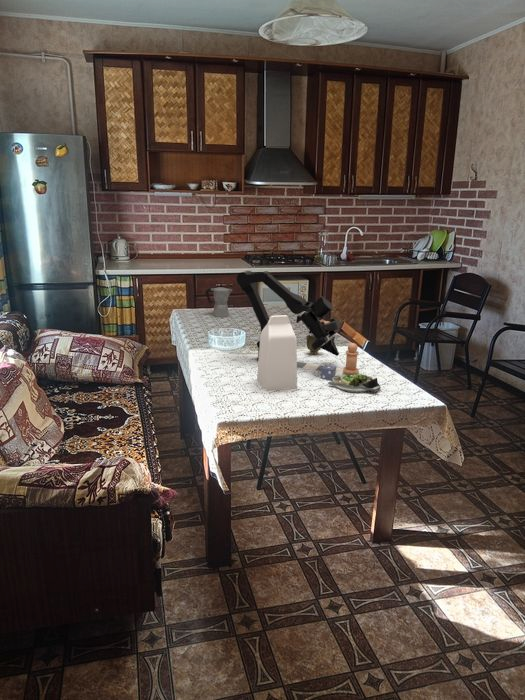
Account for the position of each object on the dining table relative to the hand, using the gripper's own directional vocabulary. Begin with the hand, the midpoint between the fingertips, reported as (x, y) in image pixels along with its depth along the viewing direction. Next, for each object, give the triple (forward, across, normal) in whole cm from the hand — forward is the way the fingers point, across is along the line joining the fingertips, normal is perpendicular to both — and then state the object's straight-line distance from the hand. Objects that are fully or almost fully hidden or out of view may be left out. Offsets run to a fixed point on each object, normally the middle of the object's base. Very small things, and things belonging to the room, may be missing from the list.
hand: (338, 355), depth 215 cm
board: (+1, 0, +9) cm, 9 cm away
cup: (-6, +18, +16) cm, 25 cm away
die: (+4, -10, +6) cm, 12 cm away
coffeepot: (-54, +64, +66) cm, 107 cm away
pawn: (+9, 0, +1) cm, 9 cm away
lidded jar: (-9, +46, +19) cm, 50 cm away
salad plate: (+13, -13, -3) cm, 18 cm away
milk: (-6, -25, +17) cm, 31 cm away
